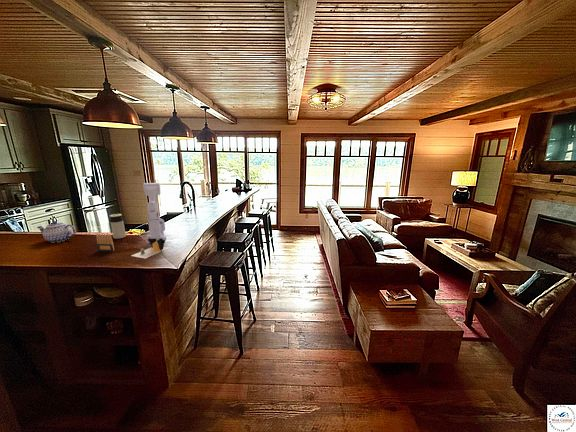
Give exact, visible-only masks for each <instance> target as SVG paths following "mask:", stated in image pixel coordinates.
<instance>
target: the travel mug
mask: <svg viewBox="0 0 576 432" xmlns="http://www.w3.org/2000/svg"><path fill="white" fill-rule="evenodd" d="M109 217H110V219H109V221H110V228H111V233H112V237H113V238H112V239H117V240H118V239H119V240H120V239H123V238H125V237H127V236H126V230H125V229H126V228H125V224H124V223H125V222H124V218H123V217H122V213H113V214H110V215H109Z"/></svg>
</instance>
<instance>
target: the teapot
mask: <svg viewBox="0 0 576 432" xmlns="http://www.w3.org/2000/svg"><path fill="white" fill-rule="evenodd" d="M36 228H37V229H38V230H39V231H40V233H41V235H42V236H43V239H44V240H45V241H47V242H51V244H53V243H54V244H55V242H57V243H61V241H62V242H65V240H66V241H68V240H69V239H70V238H71V237H73V236H75V235H76V233H77V230H76V227H75V226H74V225H72V224H66V223H65V222H58V221H57V220H54V221H52V223H50V224H47V225H45V227H43V226H41V225H39V226H37V227H36ZM72 230H73V233H72ZM67 239H68V240H67Z"/></svg>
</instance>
